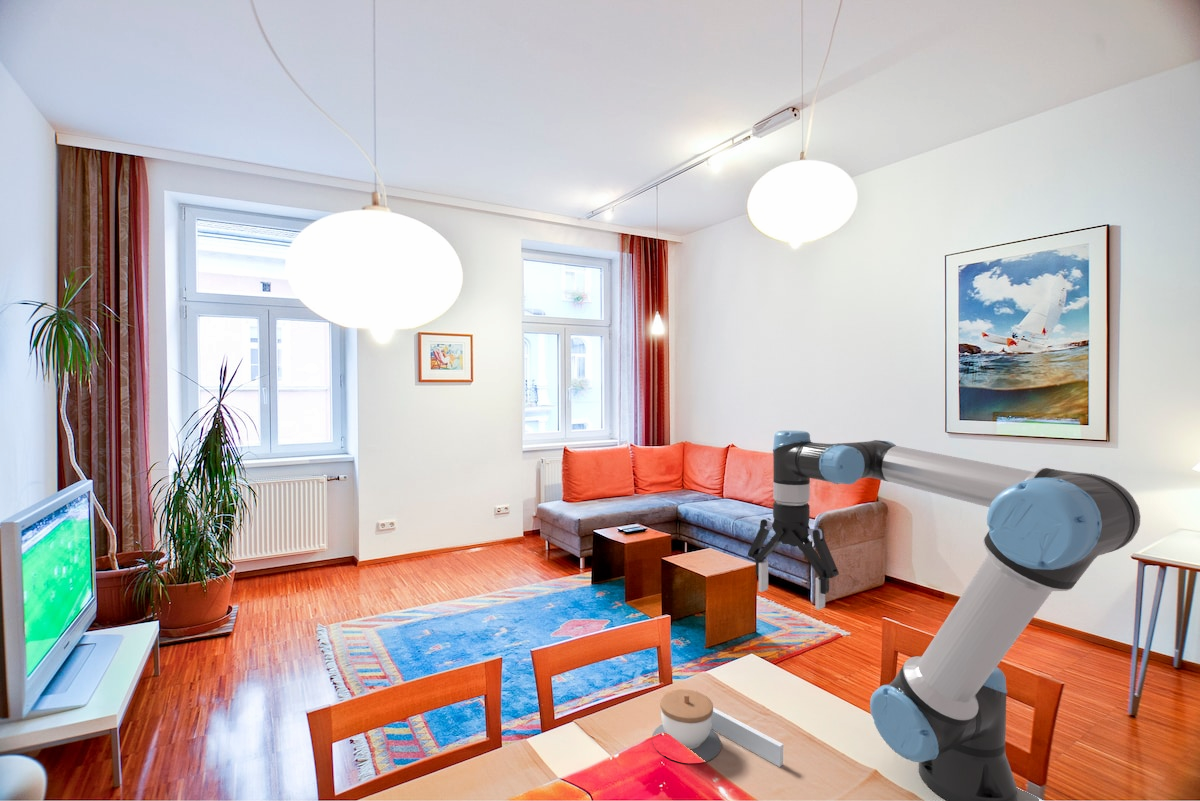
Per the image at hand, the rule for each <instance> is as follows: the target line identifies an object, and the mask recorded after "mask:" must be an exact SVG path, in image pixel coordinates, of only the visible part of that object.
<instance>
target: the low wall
mask: <svg viewBox="0 0 1200 801" xmlns="http://www.w3.org/2000/svg"><path fill="white" fill-rule="evenodd" d="M711 729H712V730H713V731H714V732H715V733H718V734H720V736H721V735H722V736H723V737H725V738H727V739H728V740H730V741H732V742H734V743H735V744H738V745H739V746H741V747H742V748H744V749H746V750H748V751H749V752H752V753H753V754H755V755H757V756H759V757H761V758H762V759H764V760H766V761H768V762H770V763H772V764H773V765H774V766H777V767H778V768H781V767H782V766H783V765H784V743H782V742H780V741H778V740H776V739H774V738H772V737H770V736H769V735H766V734H765V733H763V732H761V731H759V730H757V729H755V728H753V727H751V726H749V725H747V724H746V723H744V722H742V721H740V720H738V719H736V718H734V717H732V716H730V715H729V714H728V713H727V714H726V713H725V712H723V711H721V710H719V709H716V707H713V713H712V726H711Z"/></svg>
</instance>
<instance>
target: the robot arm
mask: <svg viewBox="0 0 1200 801" xmlns="http://www.w3.org/2000/svg"><path fill="white" fill-rule="evenodd" d="M772 446H773V447H772V454H773V455H772V456H773V459H772V460H773V465H772V466H773V480H772V481H773V482H772V484H773V488H772V492H773V493H772V499H773V500H774V502H773V503H772V504H773V505H772V509H773V510H772V518H773V520H772V519H771V518H769V517H768V518H764V519H761V520H760V525H759V530H758V532H757V534H756V536H755V538H754V540H753V541H752V544H751V546H750V548H749V550H748V552H747V556H748V557H749V558H752V559H753V560H754V561H755V575H756V576H758V592H760V593H763V592H765V591H769V561H768V560H767V557H769V556H770V554H771V553H772V552H773V551H774V550H775V549H776V547H778V545H779V544H780V543H781V544H782V545H788V546H791V547H797V548H798V549H799V550H800V551H802V552H803V555H804V556H805V557H806V559H807V560H808V562H809V564H810V565H811V567H812V568H813V570H814V571H815V573H816V574H817V575H818V576H816V577H815V582H814V583H815V597H814V598H815V600H814V602H815V603H814V604H815V606H814V607H815V610H816V611H817V610H818V611H819V610H822V609H823V608H825V607H826V594H829V592H830V579H833V578H834V577H837V576H839V574H840V573H839V569H838V567H837V565H836V563H835V560H834V558H833V556H832V553H831V551H830V549H829V547H828V544H827V542H826V540H825V532H824V528H817V529H816V528H810V525H809V524H810V523H809V522H810V512H811V511H810V510H811V507H810V504H809V503H808V502H810V488H811V487H810V484H811V481H810V480H811V479H812V480H819V481H823V482H829V483H832V484H834V485H840V484H841V485H842V484H843V485H853V484H855V483H856V482H857V481H858V480H861V479H867V478H870V479H875V480H880V481H884V482H887V483H889V482H890V483H893V484H896V485H901V486H904V487H909V488H913V489H916V490H921V491H925V492H928V493H931V494H936V495H939V496H940V495H941V496H943V497H947V498H951V499H955V500H960V501H962V502H967V503H971V504H975V505H979V506H981V507H982V506H983V507H987V508H988V512H987V516H986V525H987V527H988V532H987V533H986V534H985V535H984V538H983V546H984V548H985V550H986V552H987V556H986V558H985V559H984V560H983V562H982V564H981V565H980V566H979V568H978V570H976V573H975V574H974V576H973V577H972V578H971V580H970V582H969V584H968V585H967V586H966V588H965V590H964V591H963V593H962V594H961V595H960V596H959V598H958V601H957V602H956V604H955V605H954V606H953V608H952V609H951V611H950V612H949V614H948V616H947V617H946V619H945V620H944V622H943V623H942V625H941V626H940V628H939V630H938V631H937V633H936V634H935V635H934V637H933V639H932V640H931V642H930V643H929V645H928V646H927V648H926V650H925V651H924V652H923V654H922V656H912V657H909V658H907V660H906V661H905V662H904V663H903V665H902V667H901V668H900V670H899V671H898V673H897V674H896V676H895V677H894V679H893V680H892V681H891V682H890V683H888V684H883V685H880V686H879V687H878V688H876V690H874V692H872V695H871V697H870V701H869V706H870V707H869V708H870V715H871V717H872V719H873V721H874V722H873V723H874V726H875V728H876V730H877V732H878V734H879V735H880V737H881V738H882V740H883V741H884V742H885V743H886V745H887V746H888V747H889V748H890V749H891V750H892V751H894V753H896V754H897V755H899V756H900V757H901V758H903V759H905V760H908V761H911V762H914V763H918V774H919V776H920V779H921V780H922V781H923V783H924V784H925V785H926V786H927V787H928V788H929V789H930V790H932V792H934V793H935V794H937V796H939V797H941V798H943V799H944V800H946V801H1018V800H1017V799H1018V788H1017V784H1016V780H1015V777H1014V775H1013V772H1012V769H1011V766H1010V763H1009V760H1008V756H1007V755H1006V732H1007V731H1006V730H1007V728H1006V727H1007V726H1006V724H1007V694H1008V690H1007V682H1006V680H1007V679H1006V675H1005V674H1004V672H1003V670H1001V669H1000V668H999V667H998V666H999V664H1000V663H1001V661H1002V660H1003V659H1004V658H1005V656H1006V655H1007V653H1008V652H1009V651H1010V649H1011V647H1012V646H1013V645H1014V644H1015V642H1016V641H1017V639H1018V638H1019V636H1021V634H1022V633H1023V631H1024V630H1025V629H1026V628H1027V626H1028V625H1029V624H1030V622H1031V621H1032V620H1033V619H1034V616H1035V615H1036V614H1037V613H1038V612H1039V610H1040V608H1041V607H1042V606H1043V605H1044V603H1045V602H1046V600H1047V599H1048V598H1049V596H1050V595H1051V594H1052V592H1067V591H1071V590H1072V588H1074V587H1075V585H1076V584H1077V583H1078V581H1079V580H1080V579H1081V577H1082V576H1083V575H1084V574H1085V572H1086V571H1087V570H1088V568H1089V567H1090V565H1092V563H1093V562H1094V561H1095V560H1096V559H1097V558H1098V556H1103V555H1105V554H1109V553H1111V552H1114V551H1118V550H1121V549H1122V548H1123V547H1125V546H1127V545H1128V544H1129V543H1131V542H1132V540H1133V539H1134V538H1135V537H1136V535H1137V534H1138V531H1139V529H1140V525H1141V512H1140V507H1139V505H1138V504H1137V502H1136V500H1135V498H1134V496H1133V495H1132V494H1131V493H1130V492H1129V490H1127V489H1126V488H1125V487H1124V486H1122V485H1121V484H1120V483H1118V482H1116V481H1115V480H1113V479H1110V478H1109V477H1105V476H1104V475H1103V476H1102V475H1099V474H1098V475H1097V474H1095V473H1086V472H1075V471H1066V470H1061V469H1054V468H1049V467H1042V468H1040V469H1038V470H1036V471H1031V470H1026V469H1021V468H1015V467H1009V466H1005V465H999V464H995V463H988V462H984V461H978V460H973V459H967V458H962V457H957V456H952V455H947V454H942V453H941V454H940V453H936V452H930V451H926V450H921V449H914V448H909V447H903V446H900V445H899V446H898V445H896V444H895V443H893V442H891V441H889V440H880V439H879V440H878V439H877V440H876V439H875V440H874V439H873V440H869V441H859V442H843V443H821V442H813V441H812V439H811V434H810V433H809V432H808V431H805V430H804V431H803V430H779V431H777V432H776V433H774V436H773V445H772ZM772 529H773V531H774V533H775V534H774V535H773V536H772V537H771V538H770V540H769V541H768V542H767V543H766V544H765V546H764V547H763V545H764V543H765V541H766V539H767V537H768V535H769V533H770V531H771V530H772ZM809 536H810V538H809ZM810 539H811V540H813V543H812V542H811V540H810ZM813 545H814V547H815V548H814V547H813ZM815 549H816V550H815Z"/></svg>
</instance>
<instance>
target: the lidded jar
mask: <svg viewBox="0 0 1200 801" xmlns="http://www.w3.org/2000/svg"><path fill="white" fill-rule="evenodd" d="M659 702H660V718H661V723H662V724H663V728H664V730H665V733H667V734H669V735H671V736H672V737H673V738H675V739H676V740H678V741H679V742H681V743H682V744H683V745H685V746H686V747H687V748H689V749H695V748H697V747H699V746H700V745H701V743H703V742H704V741H705V740H706V738H707V737H708V735H709V733H710V730H711V726H712V713H713V708H714V703H713V701H712V700H711V699H710V697H708V696H707V695H705V694H703V693H702V692H699V691H697V690H696V691H695V690H691V689H674V690H670V691H668V692H666V693H665V694H664V695H663V696H662V697H661V698H660V701H659ZM662 724H661V725H662Z"/></svg>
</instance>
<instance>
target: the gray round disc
mask: <svg viewBox="0 0 1200 801" xmlns="http://www.w3.org/2000/svg"><path fill="white" fill-rule="evenodd" d="M662 732H665V730H664V728H663V724H661V725H659V726H657V727H656V728H655V730H653V733H652V735H651V737H652V736H654V735H656V734H659V733H662ZM721 748H722V742H721V739H720V737H719V735H718V734H717V732H716V731H714V730H712V729H711V730H710V733H709V735H708V737H707V738H706V740H705V741H704V742H703V743H701V745H700V746H699V747H697V748H695V749H690V750H692V751H693V752H694V753H696V754H697V755H698V756H699V757H701V758H702V759H703V760H705V761H706V762H705V763H708V762H709V761H712V760H713V759H715V758H716V757H717V756H718V755H719V754H720V752H721Z"/></svg>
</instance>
